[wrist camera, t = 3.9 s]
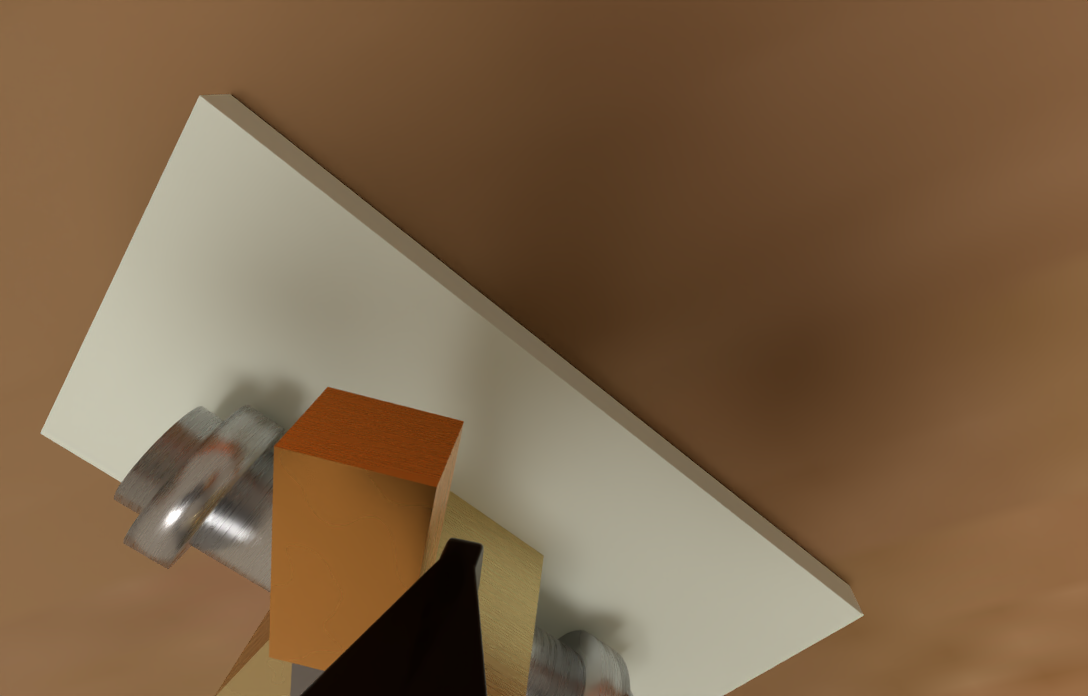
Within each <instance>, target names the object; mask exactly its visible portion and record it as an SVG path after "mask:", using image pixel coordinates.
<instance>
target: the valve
mask: <svg viewBox="0 0 1088 696" xmlns="http://www.w3.org/2000/svg"><path fill="white" fill-rule="evenodd" d="M283 432H284V428H282V427H281V426H279V425H278V424H276V423H275V422H273V421H272V420H270V419H269V418H267V417H266V416H264V415H263V414H262V413H260V412H259V411H257V410H256V409H254V408H253V407H251V406H250V405H244V406H242V407H241V408H239V409H238V410H237V411H235V412H234V413H233V414H232V415H230V416H229V417H228V418H227V419H226V420H225V421H224V420H223V419H221V418H220V417H218V416H217V415H215V414H214V413H212V412H211V411H209V410H208V409H206V408H204V407H203V406H199V407H197V408H195V409H193V410H192V411H190V412H189V413H187V414H186V415H185V416H183V417H182V418H181V419H180V420H179V421H177V422H176V423H175V424H174V425H173V426H172V427H171V428H170V429H168V430H167V431H166V432H165V433H164V434H163V435H162V436H161V437H160V438H159V439H158V440H157V441H156V442H155V443H154V444H153V445H152V446H151V447H150V448H149V450H148V451H147V452H146V453H145V454H144V455H143V456H142V457H141V458H140V460H139V461H138V462H137V463H136V464H135V465H134V467H133V468H132V469H131V470H130V472H129V473H128V474H127V476H126V477H125V478H124V480H123V481H122V483H121V484H120V486H119V487H118V489H117V491H116V493H115V495H114V500H116V501H118V502H119V503H121V504H123V505H124V506H126V507H128V508H129V509H131V510H133V511H134V512H136V513H138V514H139V516H138V518H137V519H136V520H135V522H134V523H133V525H132V526H131V528H130V529H129V531H128V533H127V534H126V536H125V538H124V544H126V545H127V546H129V547H131V548H132V549H134V550H136V551H138V552H139V553H141V554H143V555H144V556H146V557H148V558H150V559H151V560H153V561H155V562H157V563H158V564H160V565H162V566H163V567H165V568H167V569H169V568H170V567H171V566H172V565H173V564H174V563H175V562H176V561H177V560H178V559H179V558H180V557H181V556H182V555H183V554H184V553H185V552H186V551H187V550H188V549H189V548H190V547H191V546H193V547H195V548H196V549H198V550H200V551H201V552H203V553H205V554H206V555H208V556H210V557H211V558H213V559H215V560H216V561H218V562H220V563H221V564H223V565H225V566H227V567H228V568H230V569H232V570H233V571H235V572H237V573H238V574H240V575H242V576H243V577H245V578H247V579H248V580H250V581H252V582H253V583H255V584H257V585H258V586H260V587H262V588H263V589H265V590H267V591H268V592H270V591H271V549H272V507H273V465H274V453H273V452H271V451H270V450H271V449H272V448H273V446H274V445H275V444H276V442H277V441H278V439H279V438H280V437H281V435H282V433H283ZM450 538H458V539H463V540H468V541H473V542H478V543H481V544H482V545H483V547H484V552H483V561H482V569H481V577H480V584H479V589H478V598H479V609H480V620H481V631H482V642H483V653H484V664H485V675H486V686H487V696H633V694H632V692H631V690H630V678H629V673H628V669H627V666H626V663H625V661H624V660H623V658H622V657H621V655H620V654H619V653H618V652H616V651H615V650H614V649H612V648H611V647H609V646H608V645H606V644H605V643H603V642H602V641H600V640H599V639H597V638H596V637H594V636H593V635H591V634H590V633H588V632H586V631H583V630H575V631H571V632H569V633H567V634H565V635H563V636H562V637H560V638H559V639H556V638H555V637H553V636H552V635H550V634H549V633H547V632H546V631H544V630H542V629H541V628H539V627H538V626H536V625H535V621H536V613H537V605H538V597H539V589H540V582H541V574H542V566H543V558H544V555H542V554H541V553H539V552H538V551H537V550H535V549H534V548H532V547H531V546H529V545H528V544H526V543H525V542H524V541H522V540H521V539H519V538H518V537H516V536H515V535H513V534H512V533H511V532H509V531H508V530H506V529H505V528H503V527H502V526H500V525H499V524H498V523H496V522H495V521H493V520H492V519H490V518H489V517H487V516H486V515H485V514H483V513H482V512H480V511H479V510H477V509H476V508H474V507H473V506H472V505H470V504H469V503H467V502H466V501H464V500H463V499H461V498H460V497H459V496H457V495H456V494H454V493H453V492H451V491H450V492H449V497H448V502H447V507H446V512H445V516H444V521H443V526H442V531H441V536H440V541H439V546H438V551H437V555H436V560H435V563H436V562H437V561H438V560H439V558H440V556H441V553H442V551H443V549H444V547H445V545H446V543H447V541H448V540H449V539H450ZM269 634H270V610H269V611H268V613H267V614H266V616H265V617H264V619H263V621H262V622H261V624H260V625H259V627H258V628H257V630H256V632H255V633H254V635H253V636H252V638H251V640H250V641H249V643H248V644H247V646H246V647H245V649H244V651H243V652H242V654H241V655H240V657H239V658H238V660H237V662H236V663H235V665H234V666H233V668H232V670H231V671H230V673H229V674H228V676H227V677H226V679H225V681H224V682H223V684H222V685H221V687H220V688H219V690H218V692H217V693H216V695H215V696H290V691H291V672H292V663H291V662H287V661H282V660H278V659H274V658H270V657H269Z"/></svg>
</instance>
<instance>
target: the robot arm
mask: <svg viewBox="0 0 1088 696" xmlns="http://www.w3.org/2000/svg"><path fill="white" fill-rule="evenodd" d="M483 552H484V547H483V545H482V544H481V543H478V542H473V541H468V540H463V539H458V538H450V539H449V540H448V541H447V543H446V545H445V547H444V549H443V551H442V553H441V556H440V558H439V560H438V561H437V562H436V563H435V564H434V565H432V566H431V567H430V568H429V569H428V570H427V571H426V572H425V573H424V574H423V575H422V576H421V577H420V578H419V579H418V580H417V581H416V582H415V583H414V584H413V585H412V586H411V587H410V588H409V589H408V590H407V591H406V592H405V593H404V594H403V595H402V596H401V597H400V598H399V599H398V600H397V601H396V602H395V603H394V604H393V605H392V606H391V607H390V608H389V609H388V610H386V611H385V612H384V613H383V614H382V615H381V616H380V617H379V618H378V619H377V620H376V621H375V622H374V623H373V624H372V625H371V626H370V627H369V628H368V629H367V630H366V631H365V632H364V633H363V634H362V635H361V636H360V637H359V638H358V639H357V640H356V641H355V642H354V643H353V644H352V645H351V646H350V647H349V648H348V649H347V650H346V651H345V652H344V653H343V654H341V655H340V656H339V657H338V658H337V659H336V660H335V661H334V662H333V663H332V664H331V665H330V666H329V667H328V668H327V669H326V670H325V671H324V672H323V673H322V674H321V675H320V676H319V677H318V678H317V679H316V680H315V681H314V682H313V683H312V684H311V685H310V686H309V687H308V688H307V689H306V690H305V691H304V692H303V693H302V694H301V695H300V696H487V686H486V675H485V664H484V653H483V642H482V631H481V620H480V609H479V598H478V589H479V584H480V577H481V569H482V561H483Z"/></svg>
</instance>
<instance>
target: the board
mask: <svg viewBox="0 0 1088 696" xmlns="http://www.w3.org/2000/svg"><path fill="white" fill-rule="evenodd" d="M327 387H331V388H335V389H339V390H343V391H347V392H351V393H355V394H359V395H363V396H366V397H370V398H374V399H378V400H382V401H386V402H390V403H394V404H398V405H402V406H406V407H410V408H414V409H418V410H422V411H426V412H429V413H433V414H437V415H441V416H445V417H449V418H453V419H457V420H461V421H464V424H463V429H462V434H461V438H460V443H459V448H458V453H457V458H456V463H455V468H454V473H453V477H452V482H451V487H450V491H451V492H453V493H454V494H456V495H457V496H459V497H460V498H461V499H463V500H464V501H466V502H467V503H469V504H470V505H472V506H473V507H474V508H476V509H477V510H479V511H480V512H482V513H483V514H485V515H486V516H487V517H489V518H490V519H492V520H493V521H495V522H496V523H498V524H499V525H500V526H502V527H503V528H505V529H506V530H508V531H509V532H511V533H512V534H513V535H515V536H516V537H518V538H519V539H521V540H522V541H524V542H525V543H526V544H528V545H529V546H531V547H532V548H534V549H535V550H537V551H538V552H539V553H541V554H542V555H544V558H543V566H542V574H541V582H540V589H539V597H538V605H537V613H536V621H535V625H536V626H538V627H539V628H541V629H542V630H544V631H546V632H547V633H549V634H550V635H552V636H553V637H555V638H556V639H559V638H560V637H562V636H563V635H565V634H567V633H569V632H571V631H575V630H583V631H586V632H588V633H590V634H591V635H593V636H594V637H596V638H597V639H599V640H600V641H602V642H603V643H605V644H606V645H608V646H609V647H611V648H612V649H614V650H615V651H616V652H618V653H619V654H620V655H621V657H622V658H623V660H624V661H625V663H626V666H627V669H628V673H629V678H630V690H631V692H632V694H633V696H723V695H725V694H727V693H729V692H730V691H732V690H734V689H736V688H737V687H739V686H741V685H743V684H744V683H746V682H748V681H750V680H751V679H753V678H755V677H757V676H759V675H760V674H762V673H764V672H766V671H767V670H769V669H771V668H773V667H774V666H776V665H778V664H780V663H781V662H783V661H785V660H787V659H788V658H790V657H792V656H794V655H795V654H797V653H799V652H801V651H802V650H804V649H806V648H808V647H809V646H811V645H813V644H815V643H817V642H818V641H820V640H822V639H824V638H825V637H827V636H829V635H831V634H832V633H834V632H836V631H838V630H839V629H841V628H843V627H845V626H846V625H848V624H850V623H852V622H853V621H855V620H857V619H859V618H860V617H862V616H864V615H863V613H862V611H861V609H860V607H859V605H858V602H857V600H856V598H855V596H854V594H853V592H852V590H851V588H850V586H849V585H848V584H847V583H845V582H844V581H843V580H842V579H840V578H839V577H838V576H837V575H835V574H834V573H833V572H832V571H830V570H829V569H828V568H827V567H825V566H824V565H823V564H822V563H820V562H819V561H818V560H816V559H815V558H814V557H813V556H811V555H810V554H809V553H808V552H806V551H805V550H804V549H803V548H801V547H800V546H799V545H798V544H796V543H795V542H794V541H793V540H791V539H790V538H789V537H788V536H786V535H785V534H784V533H782V532H781V531H780V530H779V529H777V528H776V527H775V526H774V525H772V524H771V523H770V522H769V521H767V520H766V519H765V518H764V517H762V516H761V515H760V514H759V513H757V512H756V511H755V510H753V509H752V508H751V507H750V506H748V505H747V504H746V503H745V502H743V501H742V500H741V499H740V498H738V497H737V496H736V495H735V494H733V493H732V492H731V491H730V490H728V489H727V488H726V487H725V486H723V485H722V484H721V483H719V482H718V481H717V480H716V479H714V478H713V477H712V476H711V475H709V474H708V473H707V472H706V471H704V470H703V469H702V468H701V467H699V466H698V465H697V464H696V463H694V462H693V461H692V460H691V459H689V458H688V457H687V456H685V455H684V454H683V453H682V452H680V451H679V450H678V449H677V448H675V447H674V446H673V445H672V444H670V443H669V442H668V441H667V440H665V439H664V438H663V437H662V436H660V435H659V434H658V433H656V432H655V431H654V430H653V429H651V428H650V427H649V426H648V425H646V424H645V423H644V422H643V421H641V420H640V419H639V418H638V417H636V416H635V415H634V414H633V413H631V412H630V411H629V410H628V409H626V408H625V407H624V406H622V405H621V404H620V403H619V402H617V401H616V400H615V399H614V398H612V397H611V396H610V395H609V394H607V393H606V392H605V391H604V390H602V389H601V388H600V387H599V386H597V385H596V384H595V383H593V382H592V381H591V380H590V379H588V378H587V377H586V376H585V375H583V374H582V373H581V372H580V371H578V370H577V369H576V368H575V367H573V366H572V365H571V364H570V363H568V362H567V361H566V360H565V359H563V358H562V357H561V356H559V355H558V354H557V353H556V352H554V351H553V350H552V349H551V348H549V347H548V346H547V345H546V344H544V343H543V342H542V341H541V340H539V339H538V338H537V337H536V336H534V335H533V334H532V333H531V332H529V331H528V330H527V329H525V328H524V327H523V326H522V325H520V324H519V323H518V322H517V321H515V320H514V319H513V318H512V317H510V316H509V315H508V314H507V313H505V312H504V311H503V310H502V309H500V308H499V307H498V306H496V305H495V304H494V303H493V302H491V301H490V300H489V299H488V298H486V297H485V296H484V295H483V294H481V293H480V292H479V291H478V290H476V289H475V288H474V287H473V286H471V285H470V284H469V283H468V282H466V281H465V280H464V279H462V278H461V277H460V276H459V275H457V274H456V273H455V272H454V271H452V270H451V269H450V268H449V267H447V266H446V265H445V264H444V263H442V262H441V261H440V260H439V259H437V258H436V257H435V256H434V255H432V254H431V253H430V252H428V251H427V250H426V249H425V248H423V247H422V246H421V245H420V244H418V243H417V242H416V241H415V240H413V239H412V238H411V237H410V236H408V235H407V234H406V233H405V232H403V231H402V230H401V229H399V228H398V227H397V226H396V225H394V224H393V223H392V222H391V221H389V220H388V219H387V218H386V217H384V216H383V215H382V214H381V213H379V212H378V211H377V210H376V209H374V208H373V207H372V206H371V205H369V204H368V203H367V202H365V201H364V200H363V199H362V198H360V197H359V196H358V195H357V194H355V193H354V192H353V191H352V190H350V189H349V188H348V187H347V186H345V185H344V184H343V183H342V182H340V181H339V180H338V179H336V178H335V177H334V176H333V175H331V174H330V173H329V172H328V171H326V170H325V169H324V168H323V167H321V166H320V165H319V164H318V163H316V162H315V161H314V160H313V159H311V158H310V157H309V156H308V155H306V154H305V153H304V152H302V151H301V150H300V149H299V148H297V147H296V146H295V145H294V144H292V143H291V142H290V141H289V140H287V139H286V138H285V137H284V136H282V135H281V134H280V133H279V132H277V131H276V130H275V129H274V128H272V127H271V126H270V125H268V124H267V123H266V122H265V121H263V120H262V119H261V118H260V117H258V116H257V115H256V114H255V113H253V112H252V111H251V110H250V109H248V108H247V107H246V106H245V105H243V104H242V103H241V102H239V101H238V100H237V99H236V98H234V97H233V96H232V95H231V94H219V95H200V96H199V98H198V100H197V102H196V104H195V106H194V108H193V110H192V113H191V115H190V117H189V119H188V121H187V123H186V125H185V127H184V129H183V132H182V134H181V136H180V138H179V140H178V142H177V144H176V146H175V149H174V151H173V153H172V155H171V157H170V159H169V161H168V163H167V166H166V168H165V170H164V172H163V174H162V176H161V178H160V180H159V183H158V185H157V187H156V189H155V191H154V193H153V195H152V197H151V200H150V202H149V204H148V206H147V208H146V210H145V212H144V214H143V217H142V219H141V221H140V223H139V225H138V227H137V229H136V231H135V233H134V236H133V238H132V240H131V242H130V244H129V246H128V248H127V250H126V253H125V255H124V257H123V259H122V261H121V263H120V265H119V267H118V270H117V272H116V274H115V276H114V278H113V280H112V282H111V284H110V287H109V289H108V291H107V293H106V295H105V297H104V299H103V301H102V304H101V306H100V308H99V310H98V312H97V314H96V316H95V318H94V321H93V323H92V325H91V327H90V329H89V331H88V333H87V335H86V337H85V340H84V342H83V344H82V346H81V348H80V350H79V352H78V354H77V357H76V359H75V361H74V363H73V365H72V367H71V369H70V371H69V374H68V376H67V378H66V380H65V382H64V384H63V386H62V388H61V391H60V393H59V395H58V397H57V399H56V401H55V403H54V405H53V408H52V410H51V412H50V414H49V416H48V418H47V420H46V422H45V425H44V427H43V429H42V431H41V434H42V435H44V436H46V437H47V438H49V439H51V440H52V441H54V442H56V443H57V444H59V445H60V446H62V447H64V448H65V449H67V450H69V451H70V452H72V453H74V454H75V455H77V456H79V457H80V458H82V459H84V460H85V461H87V462H89V463H90V464H92V465H94V466H95V467H97V468H98V469H100V470H102V471H103V472H105V473H107V474H108V475H110V476H112V477H113V478H115V479H117V480H118V481H120V482H122V481H123V480H124V478H125V477H126V476H127V474H128V473H129V472H130V470H131V469H132V468H133V467H134V465H135V464H136V463H137V462H138V461H139V460H140V458H141V457H142V456H143V455H144V454H145V453H146V452H147V451H148V450H149V448H150V447H151V446H152V445H153V444H154V443H155V442H156V441H157V440H158V439H159V438H160V437H161V436H162V435H163V434H164V433H165V432H166V431H167V430H168V429H170V428H171V427H172V426H173V425H174V424H175V423H176V422H177V421H179V420H180V419H181V418H182V417H183V416H185V415H186V414H187V413H189V412H190V411H192V410H193V409H195V408H197V407H199V406H203V407H204V408H206V409H208V410H209V411H211V412H212V413H214V414H215V415H217V416H218V417H220V418H221V419H223V420H224V421H225V420H226V419H227V418H228V417H229V416H230V415H232V414H233V413H234V412H235V411H237V410H238V409H239V408H241V407H242V406H244V405H250V406H251V407H253V408H254V409H256V410H257V411H259V412H260V413H262V414H263V415H264V416H266V417H267V418H269V419H270V420H272V421H273V422H275V423H276V424H278V425H279V426H281V427H282V428H284V432H283V433H282V435H281V437H280V438H279V439H278V441H279V440H280V439H281V438H282V437H283V436H284V435H285V434H286V432H287V431H288V430H289V429H290V428H291V427H292V426H293V425H294V424H295V422H296V421H297V420H298V419H299V418H300V417H301V416H302V415H303V414H304V413H305V411H306V410H307V409H308V408H309V407H310V406H311V405H312V404H313V403H314V401H315V400H316V399H317V398H318V397H319V396H320V395H321V394H322V393H323V391H324V390H325V389H326V388H327ZM278 441H277V442H278ZM277 442H276V443H277ZM275 445H276V444H275ZM275 445H274V446H275ZM274 446H273V448H272V449H271V450H270V451H271V452H273V453H274Z"/></svg>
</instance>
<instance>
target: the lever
mask: <svg viewBox="0 0 1088 696" xmlns="http://www.w3.org/2000/svg"><path fill="white" fill-rule="evenodd" d="M463 424H464V421H461V420H457V419H453V418H449V417H445V416H441V415H437V414H433V413H429V412H426V411H422V410H418V409H414V408H410V407H406V406H402V405H398V404H394V403H390V402H386V401H382V400H378V399H374V398H370V397H366V396H363V395H359V394H355V393H351V392H347V391H343V390H339V389H335V388H331V387H327V388H326V389H325V390H324V391H323V393H322V394H321V395H320V396H319V397H318V398H317V399H316V400H315V401H314V403H313V404H312V405H311V406H310V407H309V408H308V409H307V410H306V411H305V413H304V414H303V415H302V416H301V417H300V418H299V419H298V420H297V421H296V422H295V424H294V425H293V426H292V427H291V428H290V429H289V430H288V431H287V432H286V434H285V435H284V436H283V437H282V438H281V439H280V440H279V441H278V442H277V443H276V445H275V446H274V465H273V507H272V549H271V591H270V634H269V657H270V658H274V659H278V660H282V661H287V662H291V663H292V672H291V691H290V696H300V695H301V694H302V693H303V692H304V691H305V690H306V689H307V688H308V687H309V686H310V685H311V684H312V683H313V682H314V681H315V680H316V679H317V678H318V677H319V676H320V675H321V674H322V673H323V672H324V671H325V670H326V669H327V668H328V667H329V666H330V665H331V664H332V663H333V662H334V661H335V660H336V659H337V658H338V657H339V656H340V655H341V654H343V653H344V652H345V651H346V650H347V649H348V648H349V647H350V646H351V645H352V644H353V643H354V642H355V641H356V640H357V639H358V638H359V637H360V636H361V635H362V634H363V633H364V632H365V631H366V630H367V629H368V628H369V627H370V626H371V625H372V624H373V623H374V622H375V621H376V620H377V619H378V618H379V617H380V616H381V615H382V614H383V613H384V612H385V611H386V610H388V609H389V608H390V607H391V606H392V605H393V604H394V603H395V602H396V601H397V600H398V599H399V598H400V597H401V596H402V595H403V594H404V593H405V592H406V591H407V590H408V589H409V588H410V587H411V586H412V585H413V584H414V583H415V582H416V581H417V580H418V579H419V578H420V577H421V576H422V575H423V574H424V573H425V572H426V571H427V570H428V569H429V568H430V567H431V566H432V565H434V564H435V560H436V555H437V551H438V546H439V541H440V536H441V531H442V526H443V521H444V516H445V512H446V507H447V502H448V497H449V492H450V487H451V482H452V477H453V473H454V468H455V463H456V458H457V453H458V448H459V443H460V438H461V434H462V429H463Z"/></svg>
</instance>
